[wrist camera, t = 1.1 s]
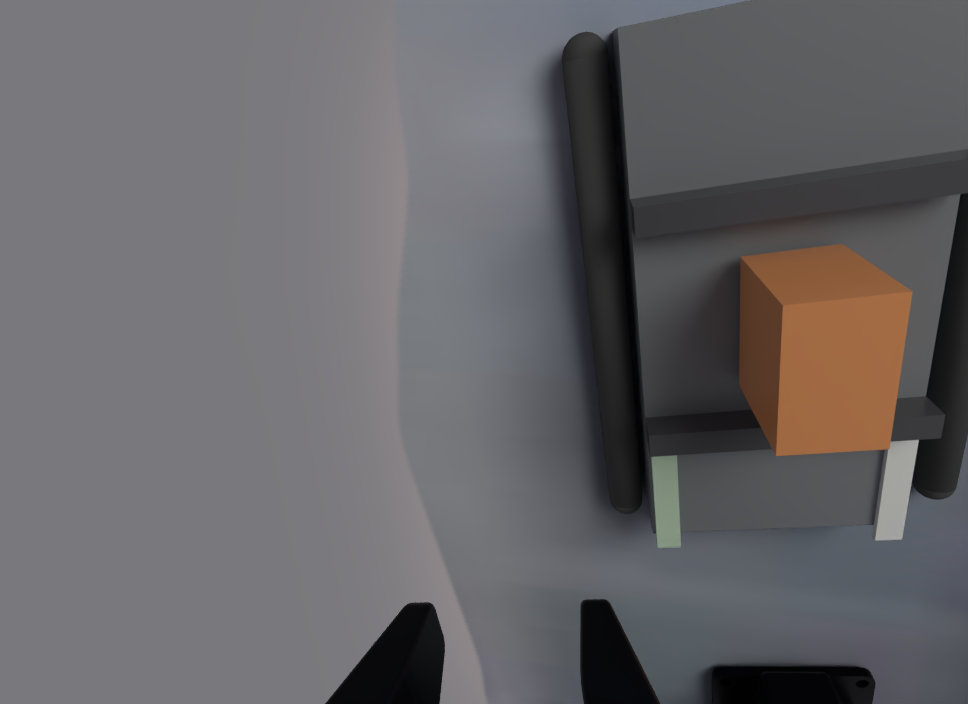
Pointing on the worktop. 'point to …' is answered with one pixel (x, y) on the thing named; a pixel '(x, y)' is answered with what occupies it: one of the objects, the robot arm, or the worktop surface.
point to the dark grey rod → (603, 259)
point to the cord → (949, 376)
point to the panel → (782, 232)
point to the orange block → (821, 349)
